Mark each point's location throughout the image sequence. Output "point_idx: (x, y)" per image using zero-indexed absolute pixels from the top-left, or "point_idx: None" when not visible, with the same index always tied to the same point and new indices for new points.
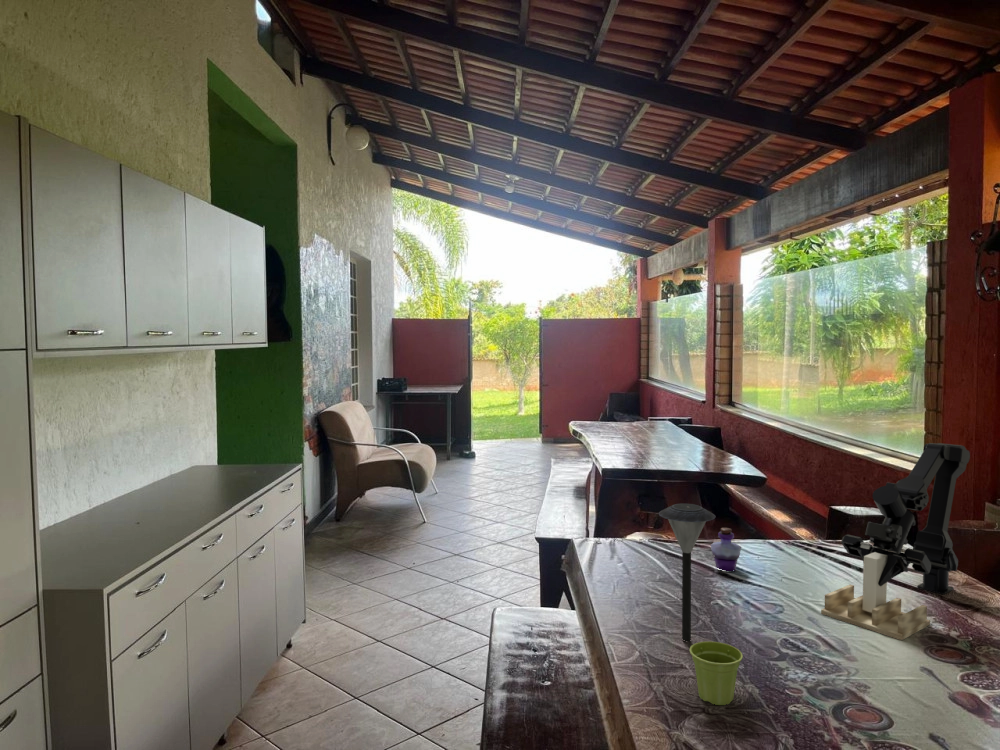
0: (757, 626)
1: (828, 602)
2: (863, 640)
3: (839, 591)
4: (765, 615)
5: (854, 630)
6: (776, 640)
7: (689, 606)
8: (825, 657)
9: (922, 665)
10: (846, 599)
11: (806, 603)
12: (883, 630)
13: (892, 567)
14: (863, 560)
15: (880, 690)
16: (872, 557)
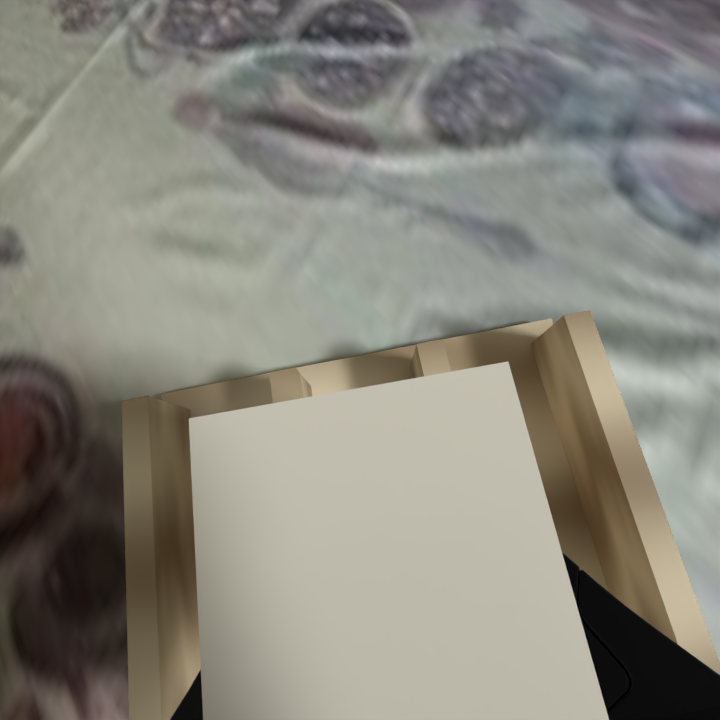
0: (526, 27)
1: (548, 329)
2: (257, 258)
3: (611, 450)
4: (608, 110)
5: (339, 306)
6: (405, 11)
7: None
8: (241, 53)
9: (22, 268)
10: (601, 541)
11: (683, 368)
12: (244, 378)
13: None
14: (672, 646)
15: (36, 39)
16: (336, 462)
